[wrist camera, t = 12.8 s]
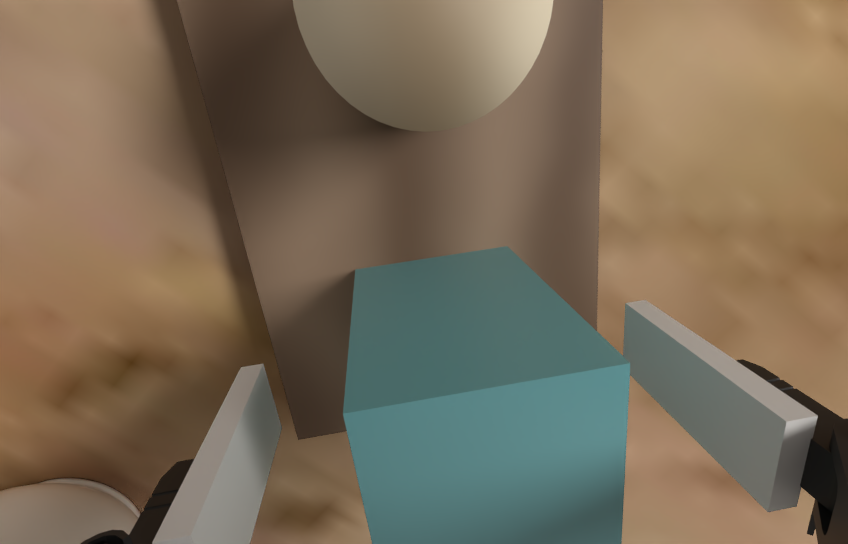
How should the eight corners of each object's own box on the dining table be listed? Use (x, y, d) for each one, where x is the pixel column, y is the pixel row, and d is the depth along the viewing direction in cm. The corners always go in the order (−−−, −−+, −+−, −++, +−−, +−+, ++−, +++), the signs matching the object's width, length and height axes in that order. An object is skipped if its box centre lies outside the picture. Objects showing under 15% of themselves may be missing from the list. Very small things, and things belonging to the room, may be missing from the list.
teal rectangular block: (507, 245, 18) (630, 363, 9) (514, 375, 20) (620, 563, 12) (355, 269, 17) (342, 413, 9) (379, 398, 20) (387, 612, 11)
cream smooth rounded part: (469, -52, 16) (551, -190, 9) (481, 115, 17) (557, 115, 10) (310, -36, 15) (259, -165, 8) (340, 133, 17) (321, 146, 10)
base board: (583, -123, 15) (605, -148, 14) (581, 369, 22) (595, 386, 21) (169, -83, 14) (147, -105, 13) (302, 418, 21) (298, 439, 20)
